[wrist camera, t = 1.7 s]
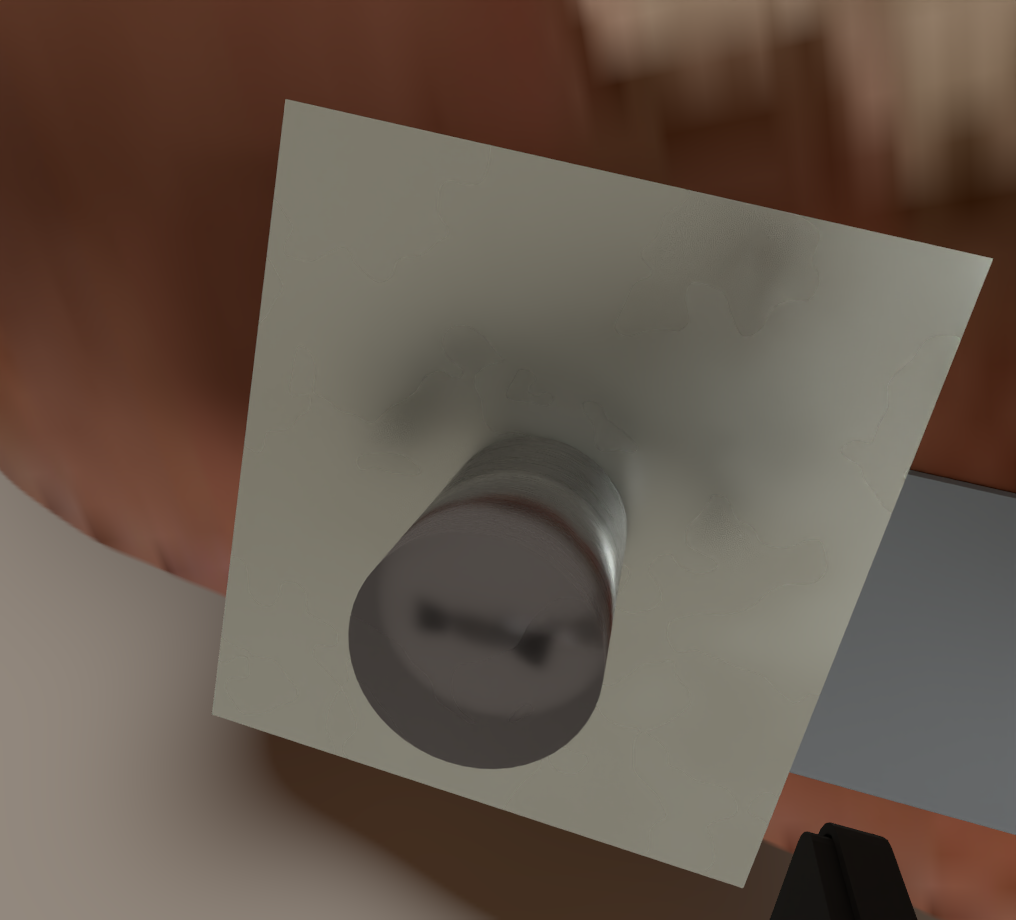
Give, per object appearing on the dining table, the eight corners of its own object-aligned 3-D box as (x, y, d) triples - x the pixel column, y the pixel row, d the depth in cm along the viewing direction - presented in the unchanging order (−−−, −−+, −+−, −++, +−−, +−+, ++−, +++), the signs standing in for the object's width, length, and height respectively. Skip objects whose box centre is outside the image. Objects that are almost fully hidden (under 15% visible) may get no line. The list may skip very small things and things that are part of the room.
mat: (1150, 523, 31) (1161, 531, 30) (1011, 822, 35) (1019, 835, 35) (772, 438, 33) (774, 444, 32) (685, 732, 37) (685, 743, 36)
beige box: (816, 233, 30) (1165, 282, 9) (712, 553, 35) (766, 1137, 13) (498, 161, 32) (100, 44, 10) (435, 476, 36) (56, 879, 14)
